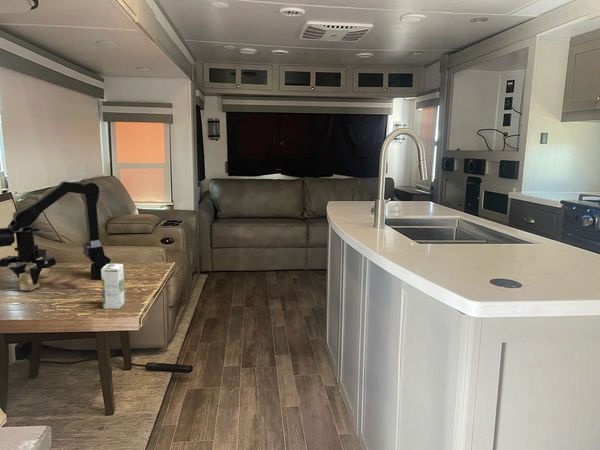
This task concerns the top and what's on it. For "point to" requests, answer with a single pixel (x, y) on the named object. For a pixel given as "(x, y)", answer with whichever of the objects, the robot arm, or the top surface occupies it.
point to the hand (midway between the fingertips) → (29, 284)
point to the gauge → (30, 280)
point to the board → (61, 282)
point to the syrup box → (113, 286)
